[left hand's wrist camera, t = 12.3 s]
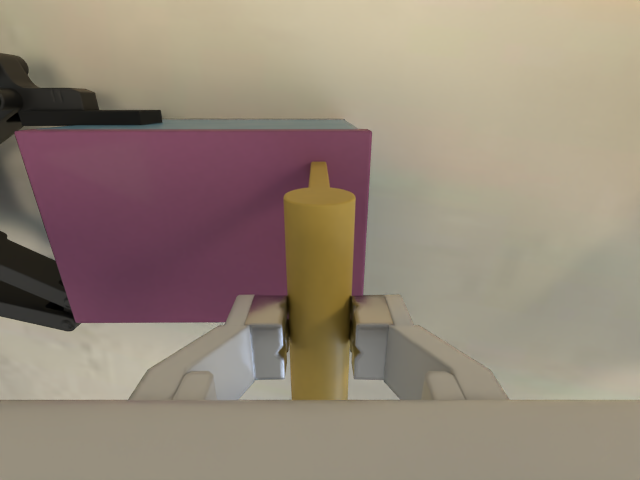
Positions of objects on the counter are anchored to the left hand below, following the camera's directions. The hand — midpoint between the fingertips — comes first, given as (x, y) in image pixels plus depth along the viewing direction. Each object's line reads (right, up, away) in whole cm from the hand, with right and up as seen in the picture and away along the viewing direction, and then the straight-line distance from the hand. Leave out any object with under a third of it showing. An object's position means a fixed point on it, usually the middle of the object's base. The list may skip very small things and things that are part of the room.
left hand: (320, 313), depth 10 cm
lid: (-6, +3, +7) cm, 10 cm away
